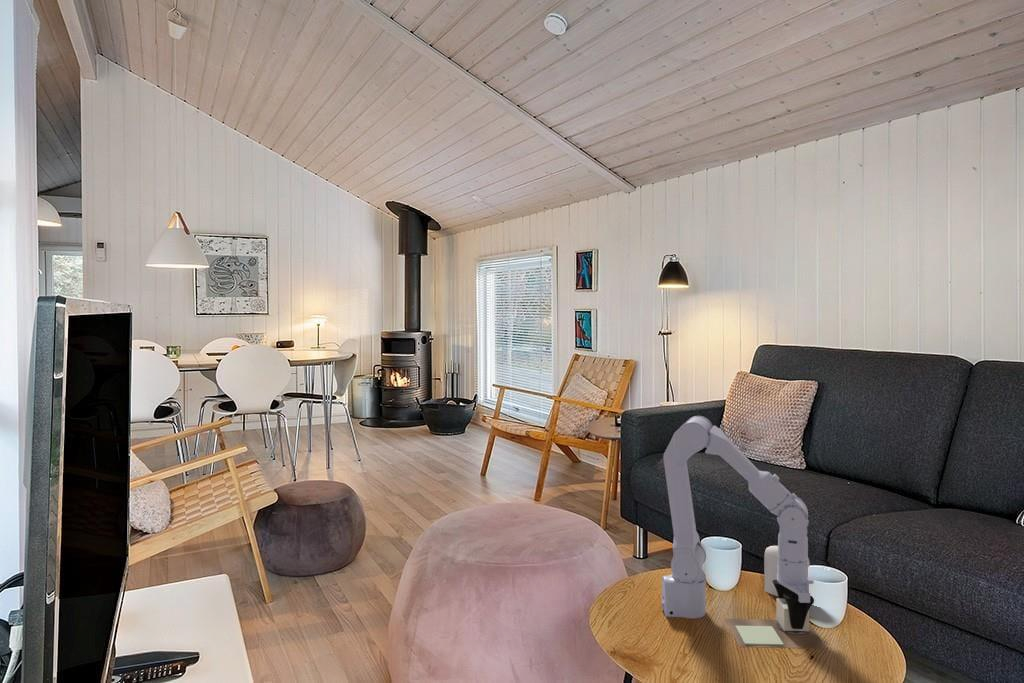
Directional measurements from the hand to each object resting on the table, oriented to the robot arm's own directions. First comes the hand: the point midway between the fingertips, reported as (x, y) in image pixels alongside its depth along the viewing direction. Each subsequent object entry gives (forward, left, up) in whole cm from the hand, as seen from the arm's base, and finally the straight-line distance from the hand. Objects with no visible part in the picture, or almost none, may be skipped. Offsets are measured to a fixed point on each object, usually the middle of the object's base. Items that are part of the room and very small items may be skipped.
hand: (792, 621), depth 141 cm
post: (0, 0, -1) cm, 1 cm away
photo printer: (+4, +16, -3) cm, 17 cm away
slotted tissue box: (0, 0, -1) cm, 1 cm away
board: (-5, -2, -2) cm, 6 cm away
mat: (-8, -4, -1) cm, 9 cm away
